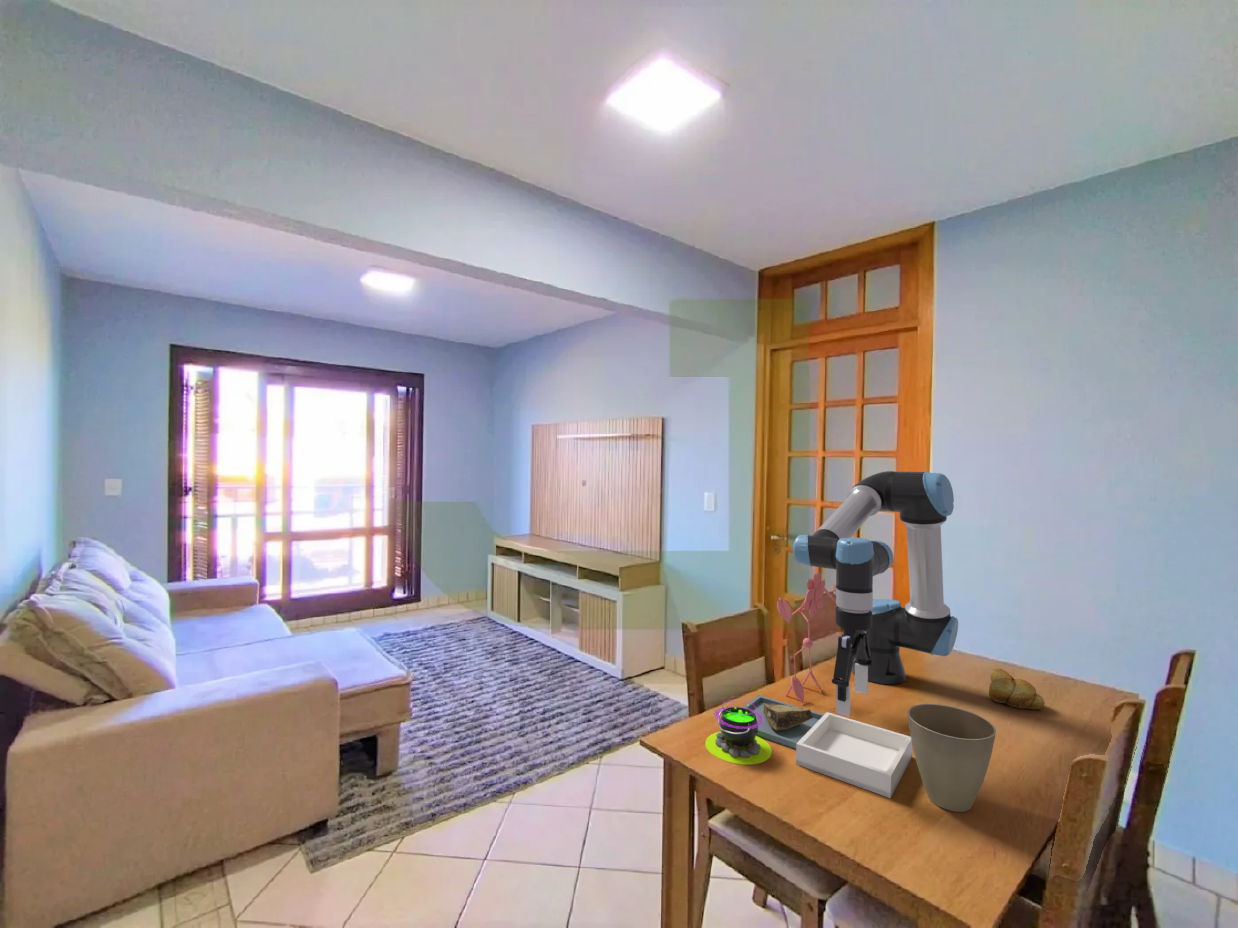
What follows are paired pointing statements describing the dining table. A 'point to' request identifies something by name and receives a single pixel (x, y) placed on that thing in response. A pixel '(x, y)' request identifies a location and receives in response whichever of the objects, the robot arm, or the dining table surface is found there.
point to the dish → (855, 753)
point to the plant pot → (951, 753)
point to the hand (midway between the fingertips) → (852, 703)
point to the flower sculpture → (811, 603)
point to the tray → (780, 736)
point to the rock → (785, 716)
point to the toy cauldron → (738, 737)
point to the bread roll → (1013, 691)
